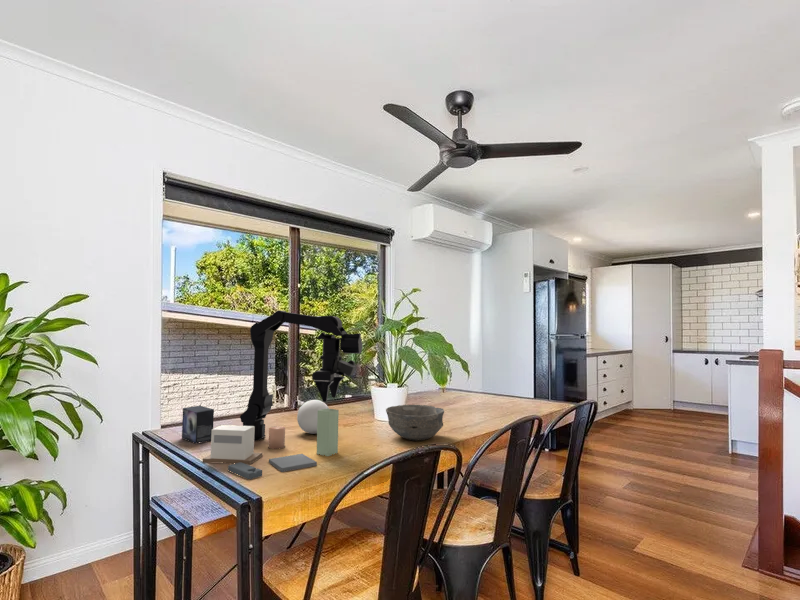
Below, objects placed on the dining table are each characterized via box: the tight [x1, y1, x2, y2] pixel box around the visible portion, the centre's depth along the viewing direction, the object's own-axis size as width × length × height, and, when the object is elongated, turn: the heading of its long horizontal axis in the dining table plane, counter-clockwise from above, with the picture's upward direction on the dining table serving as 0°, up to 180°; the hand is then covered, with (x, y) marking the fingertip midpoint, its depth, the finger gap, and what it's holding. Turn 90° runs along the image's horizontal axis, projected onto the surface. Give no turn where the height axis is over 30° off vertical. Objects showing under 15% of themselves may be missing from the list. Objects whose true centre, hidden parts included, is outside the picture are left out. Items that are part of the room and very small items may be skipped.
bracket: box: [227, 462, 263, 480], centre depth 115 cm, size 4×10×2 cm, turn 50°
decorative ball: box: [296, 399, 330, 435], centre depth 161 cm, size 12×12×12 cm
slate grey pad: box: [268, 453, 318, 473], centre depth 123 cm, size 10×10×1 cm
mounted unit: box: [202, 424, 263, 465], centre depth 127 cm, size 14×8×9 cm, turn 84°
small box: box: [181, 405, 215, 444], centre depth 150 cm, size 11×6×10 cm, turn 50°
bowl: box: [385, 404, 445, 442], centre depth 156 cm, size 21×21×10 cm
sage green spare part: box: [316, 408, 340, 457], centre depth 135 cm, size 4×4×13 cm
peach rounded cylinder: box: [268, 425, 286, 450], centre depth 141 cm, size 5×5×6 cm
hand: (329, 399), depth 148 cm, fingers open, 9 cm apart
